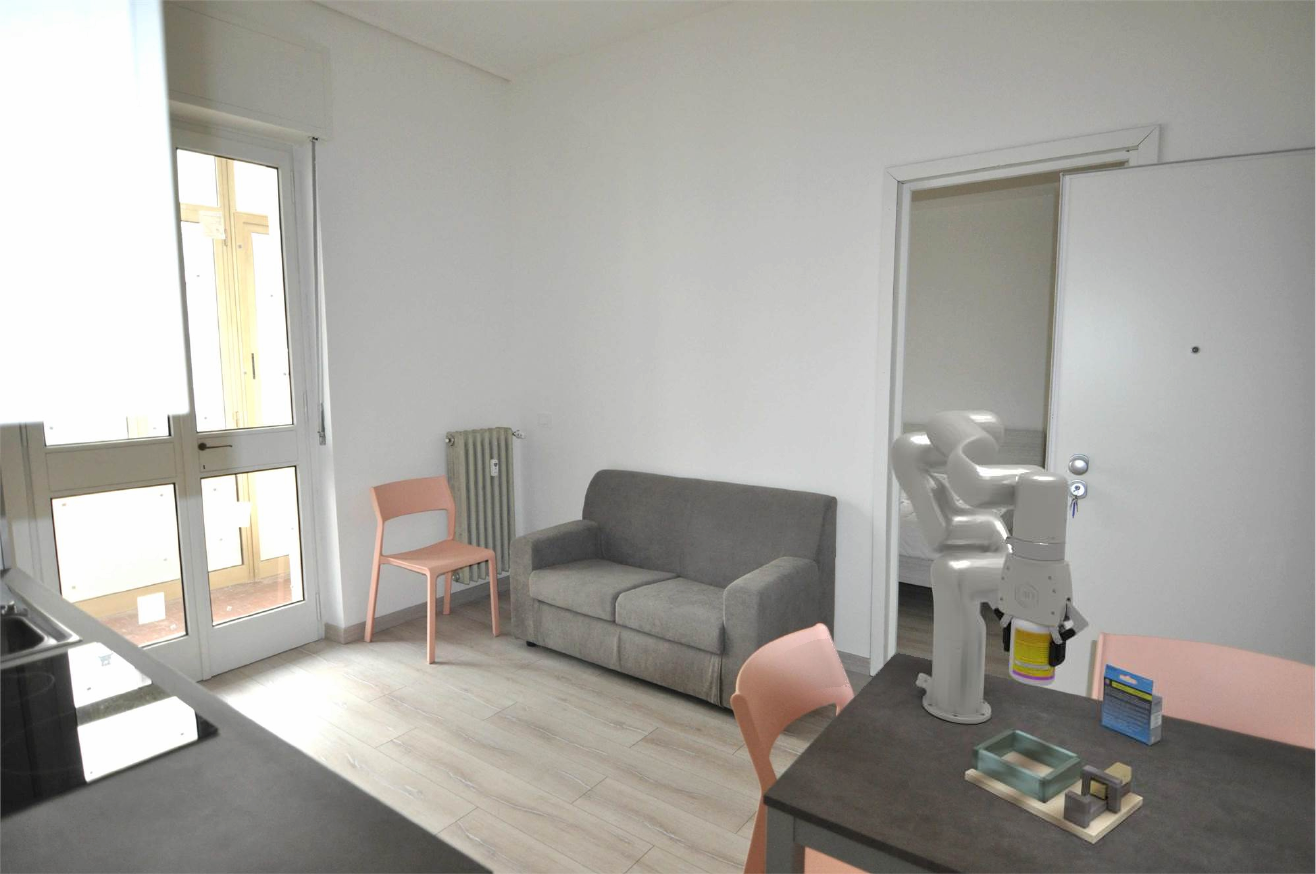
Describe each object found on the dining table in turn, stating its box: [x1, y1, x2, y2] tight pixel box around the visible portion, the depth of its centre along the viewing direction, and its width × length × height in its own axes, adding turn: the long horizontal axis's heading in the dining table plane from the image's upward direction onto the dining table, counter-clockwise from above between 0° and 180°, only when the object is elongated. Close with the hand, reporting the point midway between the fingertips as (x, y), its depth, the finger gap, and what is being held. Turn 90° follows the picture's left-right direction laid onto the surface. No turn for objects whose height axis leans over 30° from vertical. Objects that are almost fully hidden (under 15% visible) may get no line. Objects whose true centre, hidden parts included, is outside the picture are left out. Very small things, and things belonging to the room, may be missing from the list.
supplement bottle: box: [1008, 617, 1056, 687], centre depth 117 cm, size 7×7×13 cm
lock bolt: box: [1090, 761, 1132, 799], centre depth 113 cm, size 2×9×2 cm, turn 125°
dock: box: [964, 727, 1144, 845], centre depth 116 cm, size 20×16×6 cm
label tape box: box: [1101, 662, 1163, 746], centre depth 134 cm, size 9×4×12 cm, turn 28°
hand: (1032, 656), depth 118 cm, fingers closed on supplement bottle, 6 cm apart
